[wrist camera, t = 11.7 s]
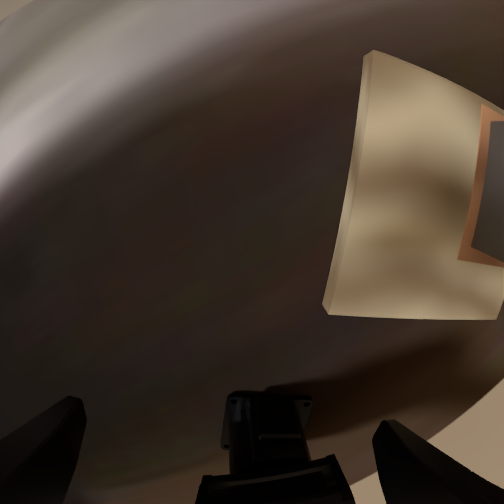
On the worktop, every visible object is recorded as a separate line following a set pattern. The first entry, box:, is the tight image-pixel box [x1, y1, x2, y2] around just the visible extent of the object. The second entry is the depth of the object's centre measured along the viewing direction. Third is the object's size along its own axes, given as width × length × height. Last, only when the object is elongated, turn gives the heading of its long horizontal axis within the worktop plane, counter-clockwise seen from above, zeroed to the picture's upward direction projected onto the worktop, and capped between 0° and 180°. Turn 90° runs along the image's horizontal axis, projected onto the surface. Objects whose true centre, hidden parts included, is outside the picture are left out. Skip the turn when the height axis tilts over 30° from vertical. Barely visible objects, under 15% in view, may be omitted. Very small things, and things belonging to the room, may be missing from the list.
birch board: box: [322, 50, 504, 320], centre depth 18 cm, size 16×16×2 cm
